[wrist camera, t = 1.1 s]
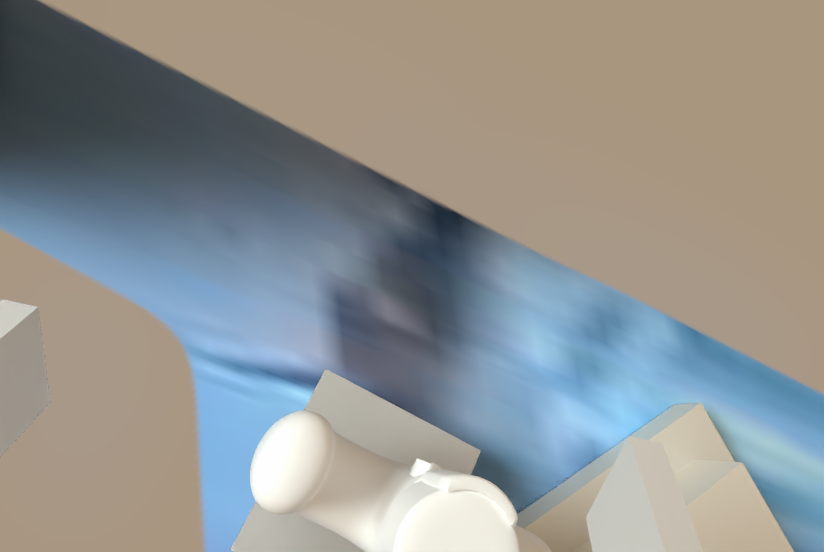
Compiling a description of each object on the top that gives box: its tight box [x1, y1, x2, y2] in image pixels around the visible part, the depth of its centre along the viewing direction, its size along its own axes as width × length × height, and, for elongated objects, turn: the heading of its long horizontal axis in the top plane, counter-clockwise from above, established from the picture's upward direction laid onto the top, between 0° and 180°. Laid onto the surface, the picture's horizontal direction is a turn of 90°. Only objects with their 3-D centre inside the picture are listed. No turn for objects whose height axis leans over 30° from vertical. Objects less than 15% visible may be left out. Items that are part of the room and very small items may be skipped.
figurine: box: [230, 369, 552, 552], centre depth 19 cm, size 7×9×15 cm
